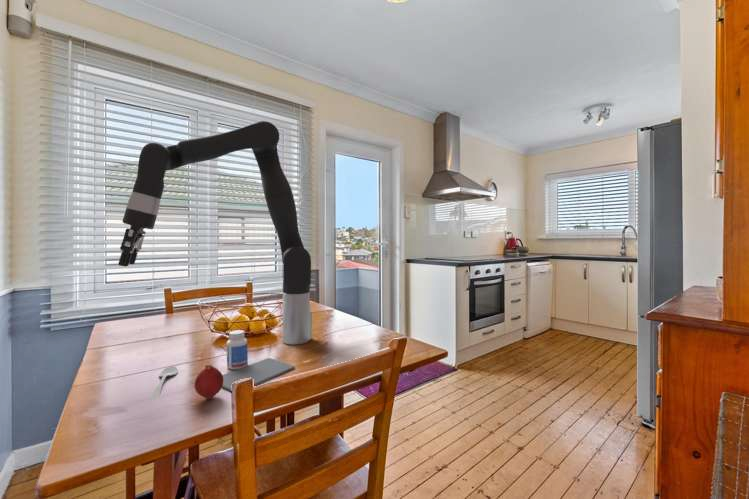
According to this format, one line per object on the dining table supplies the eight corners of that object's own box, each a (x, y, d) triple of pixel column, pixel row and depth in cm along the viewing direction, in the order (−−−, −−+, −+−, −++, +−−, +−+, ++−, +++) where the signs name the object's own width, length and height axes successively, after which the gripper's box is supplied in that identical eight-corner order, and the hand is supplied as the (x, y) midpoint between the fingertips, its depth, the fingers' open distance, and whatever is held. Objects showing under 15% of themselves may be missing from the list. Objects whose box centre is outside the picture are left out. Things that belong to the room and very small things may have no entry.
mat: (268, 359, 97) (268, 357, 97) (294, 368, 91) (294, 366, 91) (209, 382, 82) (209, 379, 82) (236, 394, 76) (236, 391, 76)
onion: (201, 392, 76) (201, 359, 76) (227, 392, 77) (227, 358, 76) (190, 405, 70) (189, 369, 70) (217, 404, 71) (217, 368, 71)
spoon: (180, 370, 90) (180, 364, 90) (159, 407, 71) (158, 399, 71) (163, 372, 89) (163, 366, 89) (136, 410, 69) (136, 402, 69)
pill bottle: (251, 363, 94) (251, 330, 93) (238, 371, 89) (238, 335, 88) (236, 361, 96) (236, 328, 95) (222, 368, 90) (222, 333, 90)
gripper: (153, 212, 90) (137, 269, 89) (160, 215, 103) (146, 265, 102) (120, 204, 87) (103, 263, 86) (132, 208, 100) (116, 260, 98)
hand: (126, 264), depth 94 cm, fingers open, 8 cm apart
